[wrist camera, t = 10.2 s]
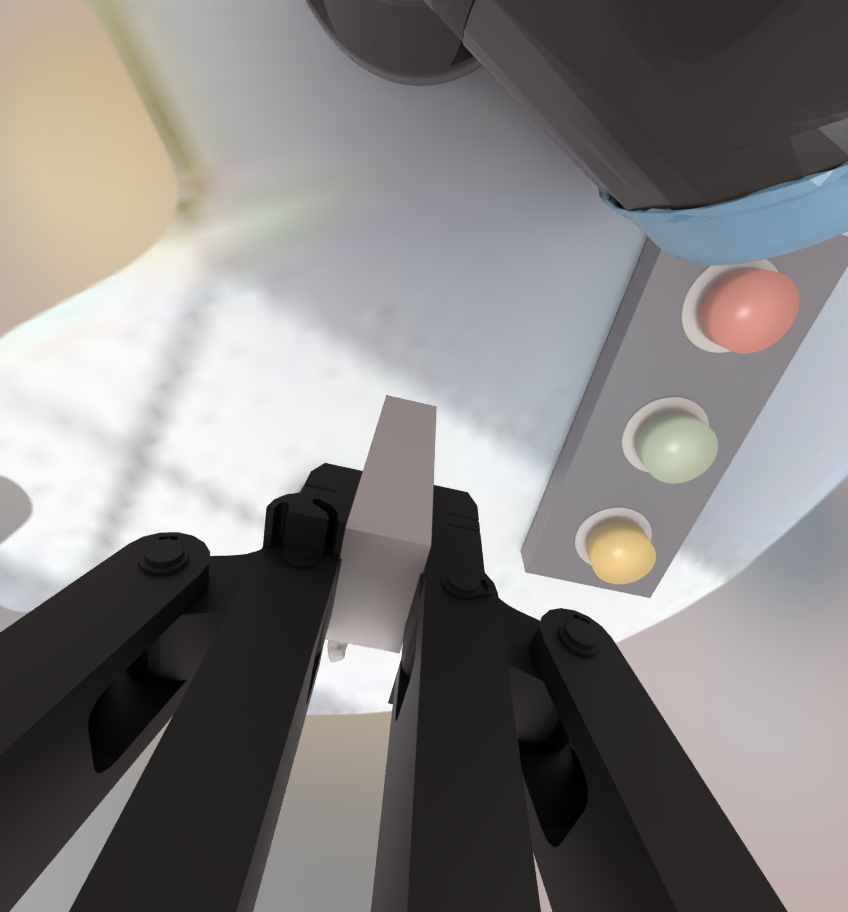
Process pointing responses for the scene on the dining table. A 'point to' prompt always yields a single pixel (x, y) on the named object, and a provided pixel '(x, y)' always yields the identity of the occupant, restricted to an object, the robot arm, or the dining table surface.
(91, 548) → the dining table surface
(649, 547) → the button ochre
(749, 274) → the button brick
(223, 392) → the dining table surface
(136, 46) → the dining table surface
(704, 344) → the console
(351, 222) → the dining table surface
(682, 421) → the button sage
